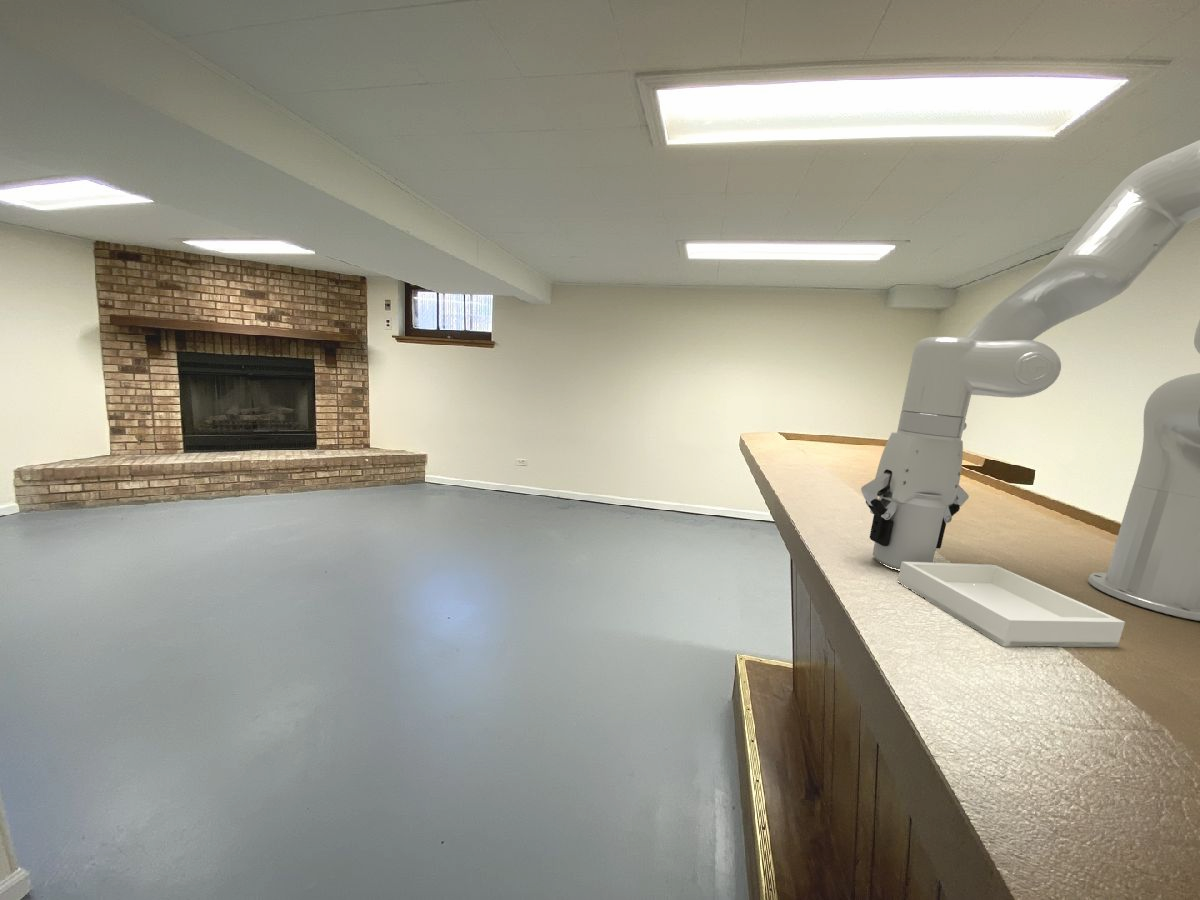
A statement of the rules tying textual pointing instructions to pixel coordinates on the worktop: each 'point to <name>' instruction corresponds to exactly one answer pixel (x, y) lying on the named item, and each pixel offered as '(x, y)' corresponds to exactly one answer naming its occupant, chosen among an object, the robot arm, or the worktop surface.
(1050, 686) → the worktop surface
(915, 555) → the can
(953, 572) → the tray
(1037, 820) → the worktop surface
